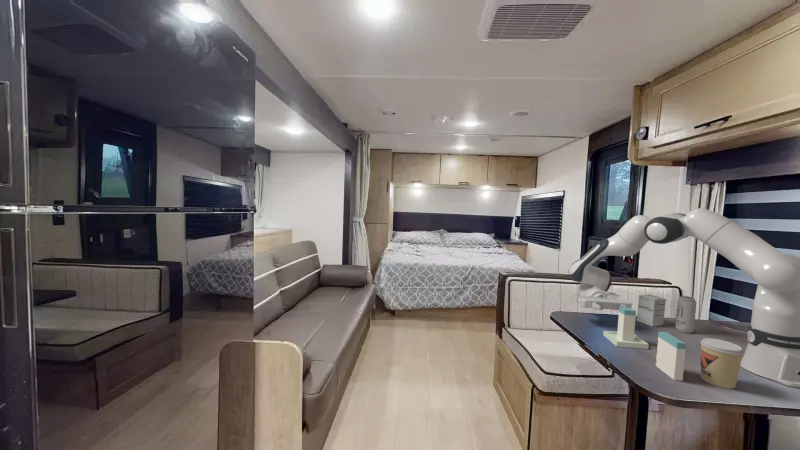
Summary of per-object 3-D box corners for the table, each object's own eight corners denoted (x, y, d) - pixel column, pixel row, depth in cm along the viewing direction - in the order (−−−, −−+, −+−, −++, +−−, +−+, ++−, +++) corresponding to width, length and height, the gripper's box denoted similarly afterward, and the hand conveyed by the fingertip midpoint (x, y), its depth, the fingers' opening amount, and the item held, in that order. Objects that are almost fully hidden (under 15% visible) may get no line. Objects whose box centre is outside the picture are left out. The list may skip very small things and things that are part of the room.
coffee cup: (691, 371, 107) (695, 335, 107) (728, 377, 104) (732, 340, 103) (706, 386, 99) (710, 347, 98) (746, 393, 95) (751, 353, 95)
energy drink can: (671, 328, 146) (674, 295, 145) (685, 328, 146) (688, 295, 145) (682, 333, 140) (686, 299, 139) (697, 334, 140) (700, 299, 139)
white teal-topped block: (627, 337, 131) (630, 307, 130) (633, 341, 127) (636, 311, 126) (617, 336, 132) (619, 307, 131) (622, 340, 128) (624, 310, 127)
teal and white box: (663, 366, 110) (666, 332, 109) (682, 380, 101) (686, 343, 100) (655, 365, 111) (658, 331, 110) (673, 379, 102) (677, 342, 101)
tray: (632, 337, 134) (632, 332, 134) (648, 349, 123) (648, 344, 123) (603, 335, 136) (603, 330, 136) (616, 346, 125) (617, 341, 125)
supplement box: (636, 321, 154) (638, 294, 153) (647, 319, 156) (649, 293, 155) (652, 327, 147) (654, 299, 146) (664, 325, 149) (666, 298, 148)
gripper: (574, 291, 154) (587, 299, 140) (621, 294, 151) (639, 303, 137) (573, 304, 154) (586, 314, 140) (620, 307, 151) (638, 318, 138)
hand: (613, 309), depth 139 cm, fingers open, 8 cm apart
